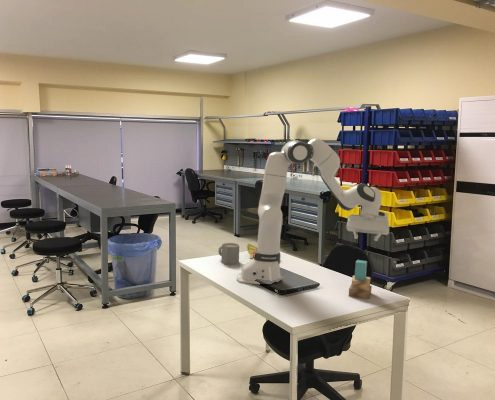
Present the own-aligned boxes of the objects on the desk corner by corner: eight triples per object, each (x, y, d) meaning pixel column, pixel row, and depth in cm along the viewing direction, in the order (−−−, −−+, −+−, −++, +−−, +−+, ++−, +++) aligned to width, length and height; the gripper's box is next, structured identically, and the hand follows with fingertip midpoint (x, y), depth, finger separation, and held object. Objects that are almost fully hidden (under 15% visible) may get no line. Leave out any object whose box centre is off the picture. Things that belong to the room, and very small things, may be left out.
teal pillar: (354, 279, 209) (355, 262, 208) (356, 276, 214) (357, 259, 212) (364, 280, 208) (365, 263, 207) (365, 277, 212) (367, 261, 211)
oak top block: (351, 288, 208) (352, 280, 208) (352, 283, 216) (352, 275, 215) (369, 290, 206) (370, 282, 206) (369, 285, 214) (370, 277, 213)
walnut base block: (348, 296, 209) (349, 288, 208) (351, 291, 217) (352, 282, 217) (368, 300, 206) (369, 291, 205) (371, 293, 214) (371, 285, 213)
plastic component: (280, 255, 268) (271, 251, 261) (275, 267, 267) (266, 263, 259) (255, 247, 281) (246, 242, 274) (251, 258, 280) (241, 253, 273)
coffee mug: (242, 262, 259) (243, 245, 258) (228, 265, 253) (229, 247, 251) (227, 257, 269) (228, 240, 268) (214, 260, 263) (214, 243, 261)
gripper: (348, 210, 229) (343, 233, 221) (390, 214, 221) (387, 237, 214) (349, 217, 233) (344, 240, 226) (390, 221, 226) (387, 245, 218)
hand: (365, 239), depth 220 cm, fingers open, 8 cm apart
